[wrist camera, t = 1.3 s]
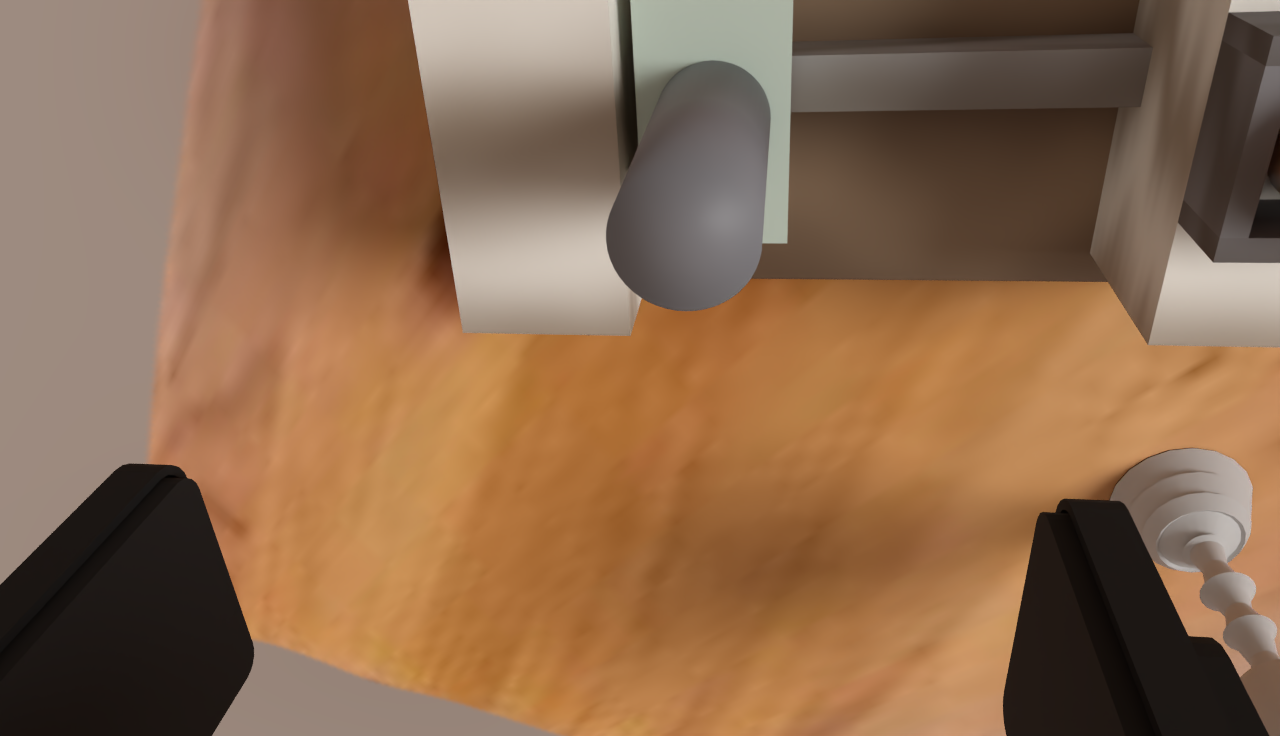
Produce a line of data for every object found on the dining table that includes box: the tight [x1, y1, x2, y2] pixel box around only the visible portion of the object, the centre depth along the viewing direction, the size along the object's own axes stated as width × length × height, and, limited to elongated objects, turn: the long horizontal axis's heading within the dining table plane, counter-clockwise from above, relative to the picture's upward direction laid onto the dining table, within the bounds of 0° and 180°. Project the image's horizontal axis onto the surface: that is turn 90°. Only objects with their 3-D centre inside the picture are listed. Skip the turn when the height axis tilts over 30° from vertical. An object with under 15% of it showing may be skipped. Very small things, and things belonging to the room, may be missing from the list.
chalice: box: [1109, 448, 1280, 736], centre depth 30 cm, size 7×7×18 cm
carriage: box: [606, 0, 793, 311], centre depth 23 cm, size 7×4×11 cm, turn 3°
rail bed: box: [408, 0, 1280, 347], centre depth 26 cm, size 14×24×10 cm, turn 93°
